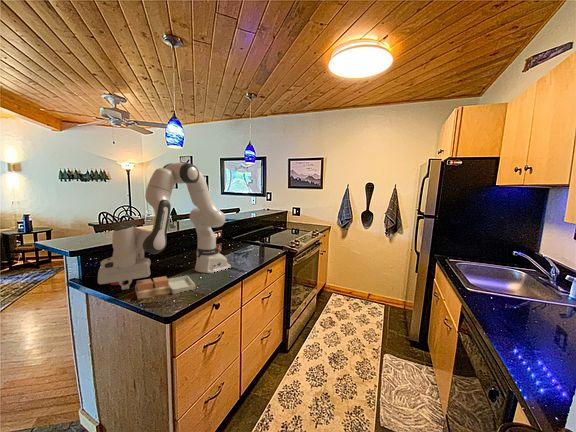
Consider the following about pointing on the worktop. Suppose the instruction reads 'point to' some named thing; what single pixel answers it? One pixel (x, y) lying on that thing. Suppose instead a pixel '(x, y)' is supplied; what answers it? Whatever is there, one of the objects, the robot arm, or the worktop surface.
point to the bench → (152, 292)
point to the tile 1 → (144, 284)
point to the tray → (181, 284)
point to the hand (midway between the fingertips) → (125, 288)
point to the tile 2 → (160, 282)
